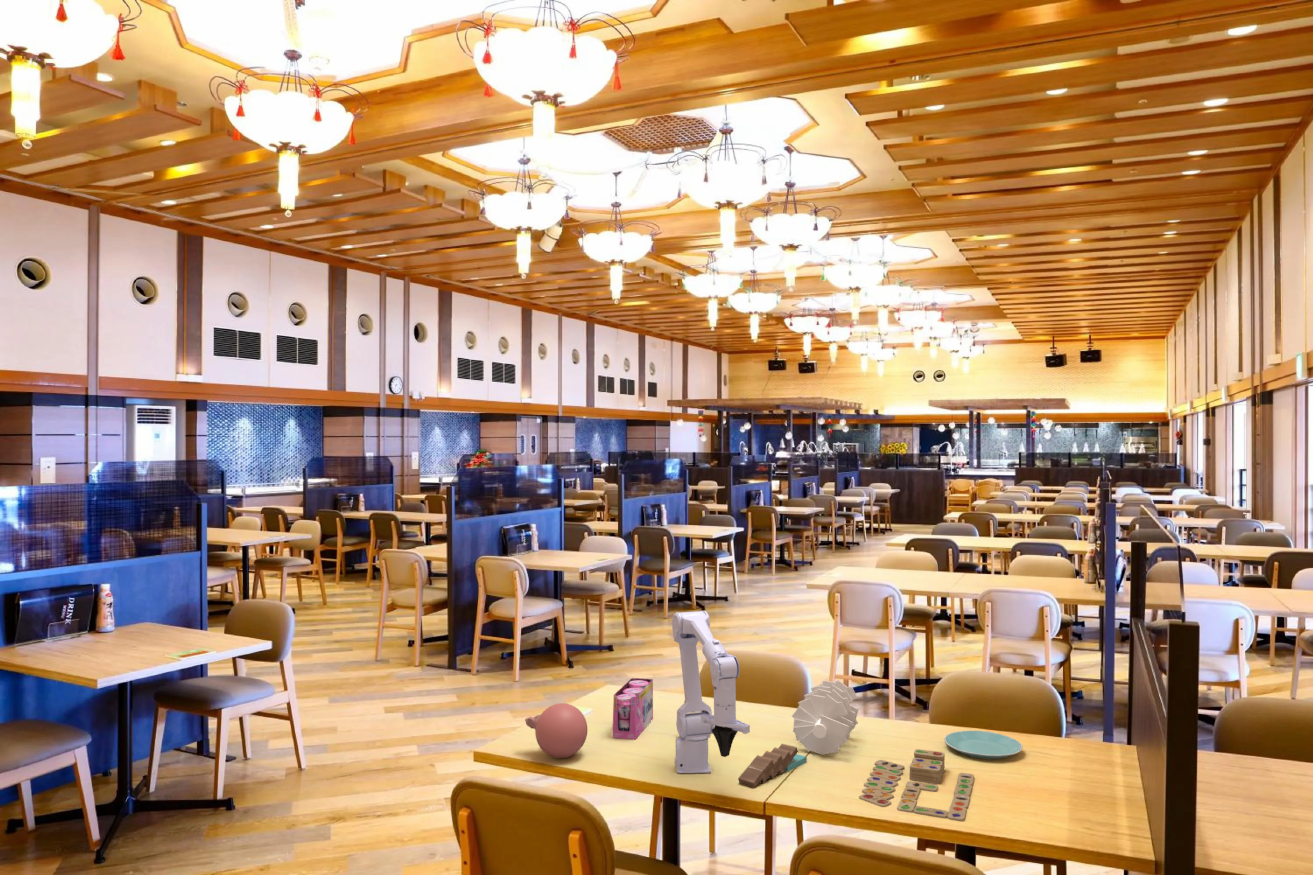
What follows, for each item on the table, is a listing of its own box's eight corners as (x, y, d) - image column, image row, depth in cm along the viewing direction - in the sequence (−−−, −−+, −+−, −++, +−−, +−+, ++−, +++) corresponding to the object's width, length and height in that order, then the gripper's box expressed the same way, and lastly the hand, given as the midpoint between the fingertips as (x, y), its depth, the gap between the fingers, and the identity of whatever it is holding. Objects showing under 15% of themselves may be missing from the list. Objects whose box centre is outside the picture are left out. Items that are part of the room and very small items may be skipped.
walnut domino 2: (762, 778, 233) (781, 754, 240) (747, 773, 237) (766, 750, 244) (764, 783, 234) (782, 759, 241) (748, 778, 237) (767, 755, 244)
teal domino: (787, 766, 242) (806, 756, 250) (772, 761, 246) (791, 752, 253) (787, 772, 242) (806, 762, 250) (772, 767, 246) (791, 758, 253)
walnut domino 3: (771, 774, 236) (789, 751, 243) (756, 769, 240) (774, 747, 247) (772, 779, 237) (790, 755, 244) (757, 774, 240) (775, 751, 247)
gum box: (634, 741, 269) (634, 697, 269) (610, 739, 271) (610, 696, 271) (653, 719, 292) (653, 678, 292) (631, 717, 294) (631, 677, 294)
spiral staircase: (805, 769, 255) (820, 739, 278) (859, 750, 249) (870, 721, 273) (778, 711, 258) (795, 686, 281) (831, 691, 252) (844, 667, 275)
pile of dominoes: (876, 762, 251) (876, 743, 251) (975, 775, 240) (975, 755, 240) (853, 806, 220) (852, 784, 220) (965, 824, 209) (965, 801, 209)
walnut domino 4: (779, 769, 240) (796, 746, 247) (764, 765, 243) (781, 743, 250) (781, 774, 240) (798, 751, 247) (765, 770, 243) (783, 748, 250)
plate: (998, 769, 244) (998, 759, 244) (929, 749, 261) (929, 739, 261) (1036, 752, 258) (1036, 743, 258) (969, 734, 275) (969, 725, 275)
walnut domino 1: (753, 782, 230) (772, 758, 237) (738, 778, 233) (757, 754, 240) (754, 787, 231) (773, 763, 238) (739, 783, 234) (758, 759, 241)
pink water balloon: (540, 742, 267) (540, 693, 268) (596, 751, 259) (596, 700, 259) (511, 758, 253) (512, 706, 254) (570, 768, 245) (570, 714, 245)
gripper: (756, 704, 224) (756, 757, 224) (711, 695, 234) (712, 745, 233) (740, 711, 219) (740, 764, 218) (695, 700, 228) (696, 752, 228)
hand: (725, 755), depth 226 cm, fingers closed
